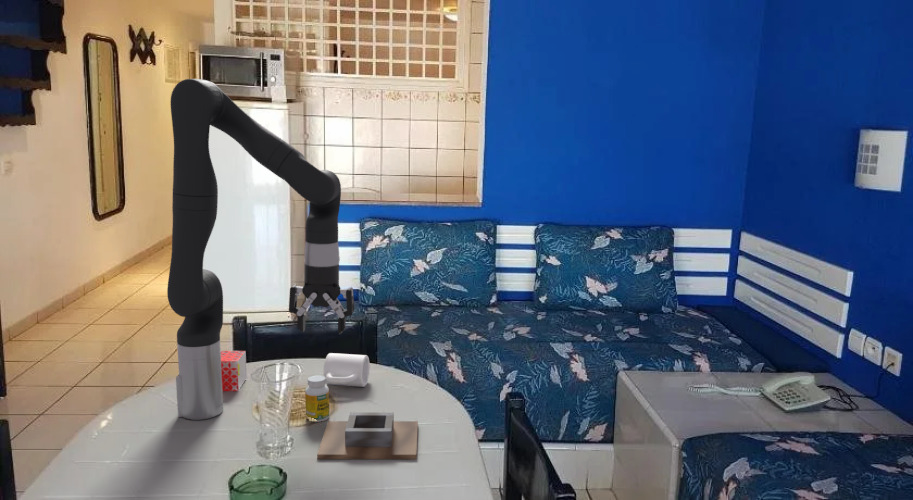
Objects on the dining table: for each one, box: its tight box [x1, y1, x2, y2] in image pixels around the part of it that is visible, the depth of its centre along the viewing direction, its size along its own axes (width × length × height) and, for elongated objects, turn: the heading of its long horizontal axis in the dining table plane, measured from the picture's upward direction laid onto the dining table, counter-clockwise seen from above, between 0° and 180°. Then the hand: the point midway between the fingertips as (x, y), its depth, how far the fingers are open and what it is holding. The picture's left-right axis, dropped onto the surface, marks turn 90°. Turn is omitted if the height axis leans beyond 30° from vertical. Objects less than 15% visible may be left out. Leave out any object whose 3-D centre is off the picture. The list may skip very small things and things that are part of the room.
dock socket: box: [316, 411, 419, 460], centre depth 154 cm, size 20×16×4 cm
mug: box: [323, 352, 371, 388], centre depth 184 cm, size 12×10×8 cm
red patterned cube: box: [221, 350, 248, 392], centre depth 183 cm, size 8×8×8 cm
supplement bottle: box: [304, 374, 330, 423], centre depth 165 cm, size 5×5×10 cm
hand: (321, 332), depth 162 cm, fingers open, 8 cm apart
